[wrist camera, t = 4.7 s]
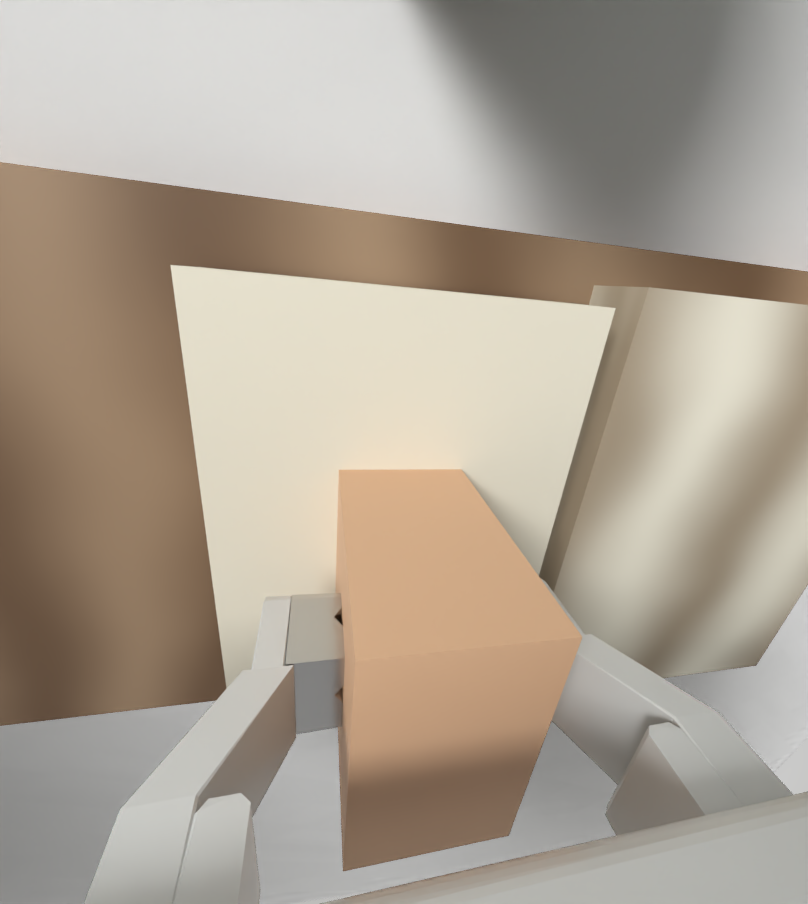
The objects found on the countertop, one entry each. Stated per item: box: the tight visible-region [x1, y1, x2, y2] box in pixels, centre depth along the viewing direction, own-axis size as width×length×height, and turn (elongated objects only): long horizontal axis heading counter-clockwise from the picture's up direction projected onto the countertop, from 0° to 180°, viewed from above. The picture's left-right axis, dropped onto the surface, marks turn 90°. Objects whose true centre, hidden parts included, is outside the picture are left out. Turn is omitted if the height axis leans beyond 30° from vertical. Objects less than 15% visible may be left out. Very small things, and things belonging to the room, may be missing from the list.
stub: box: [171, 265, 616, 871], centre depth 9 cm, size 9×13×7 cm
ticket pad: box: [0, 162, 808, 726], centre depth 12 cm, size 31×16×4 cm, turn 85°
